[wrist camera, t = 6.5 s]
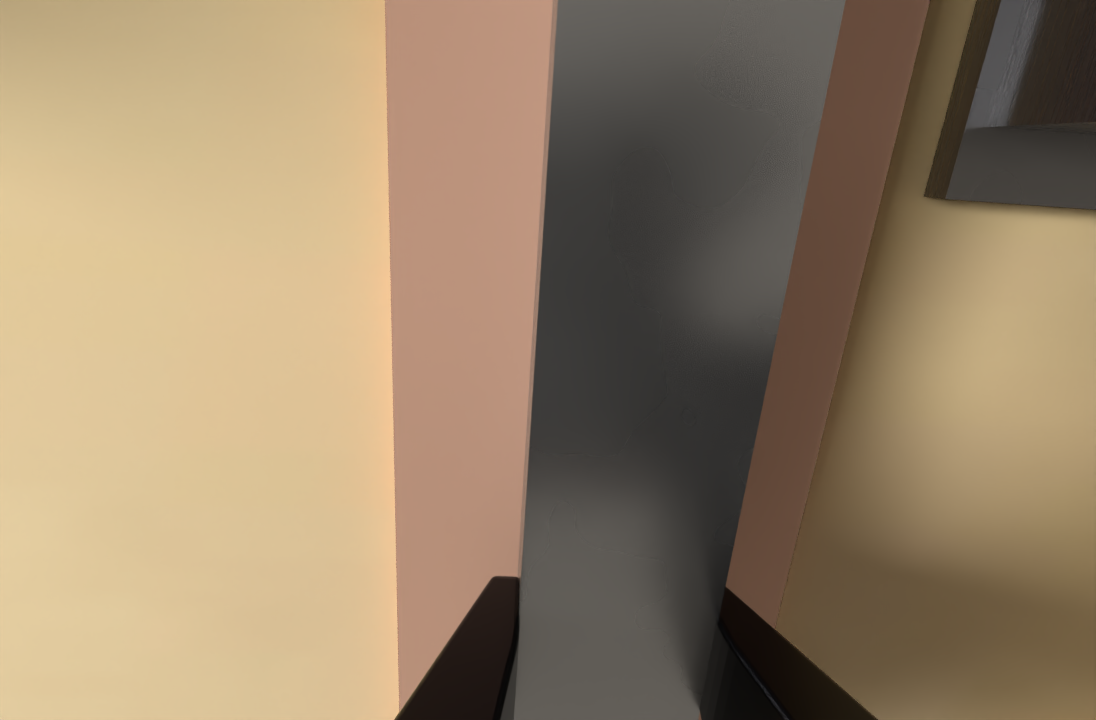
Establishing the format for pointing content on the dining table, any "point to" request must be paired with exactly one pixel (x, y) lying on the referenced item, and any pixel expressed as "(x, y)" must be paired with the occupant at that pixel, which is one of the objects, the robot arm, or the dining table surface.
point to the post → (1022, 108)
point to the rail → (655, 332)
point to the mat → (509, 289)
